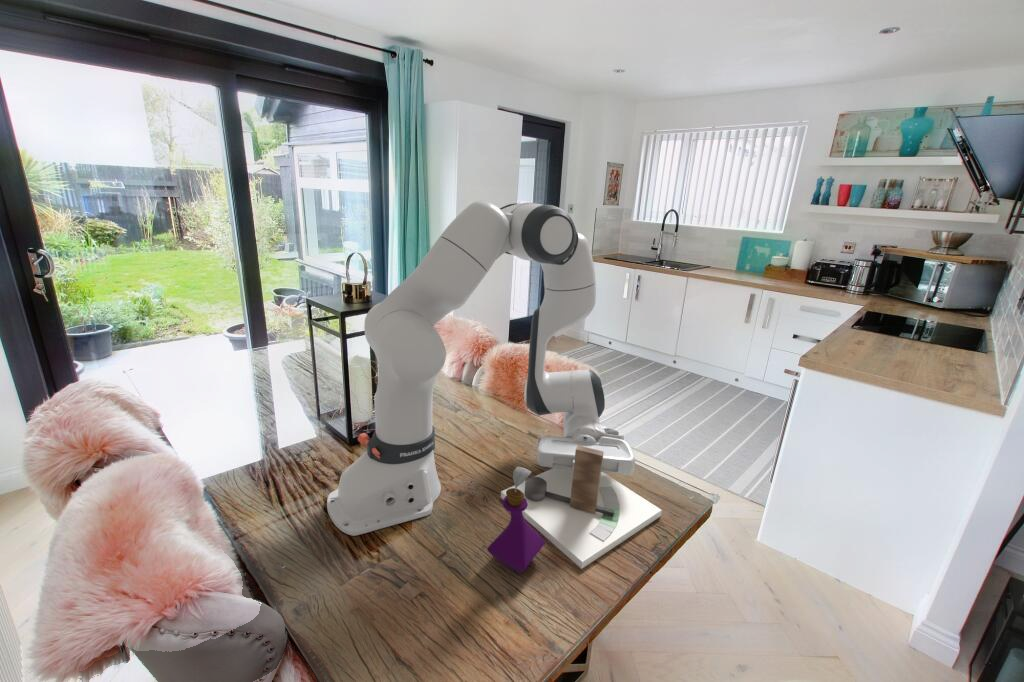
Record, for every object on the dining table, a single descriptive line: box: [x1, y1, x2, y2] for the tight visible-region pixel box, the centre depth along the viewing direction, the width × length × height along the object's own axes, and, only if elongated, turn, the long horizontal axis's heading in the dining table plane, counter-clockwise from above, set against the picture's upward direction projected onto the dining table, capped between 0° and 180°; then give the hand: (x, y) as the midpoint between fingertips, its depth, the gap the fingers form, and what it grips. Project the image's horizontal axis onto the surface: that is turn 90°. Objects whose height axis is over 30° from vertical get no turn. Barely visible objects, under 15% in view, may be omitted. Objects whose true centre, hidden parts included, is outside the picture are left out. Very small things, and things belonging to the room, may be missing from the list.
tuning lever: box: [525, 446, 614, 516], centre depth 88 cm, size 18×4×13 cm, turn 69°
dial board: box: [500, 467, 663, 570], centre depth 92 cm, size 23×23×2 cm
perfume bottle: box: [486, 466, 547, 574], centre depth 75 cm, size 8×8×18 cm
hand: (586, 477), depth 88 cm, fingers closed
